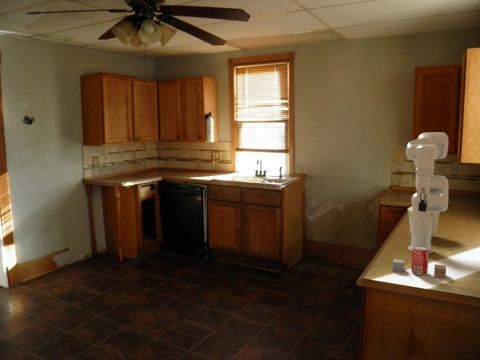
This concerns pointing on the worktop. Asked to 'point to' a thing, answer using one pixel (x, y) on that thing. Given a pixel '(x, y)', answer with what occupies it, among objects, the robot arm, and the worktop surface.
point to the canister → (434, 218)
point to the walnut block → (440, 271)
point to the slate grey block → (398, 265)
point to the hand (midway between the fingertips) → (422, 209)
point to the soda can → (419, 260)
